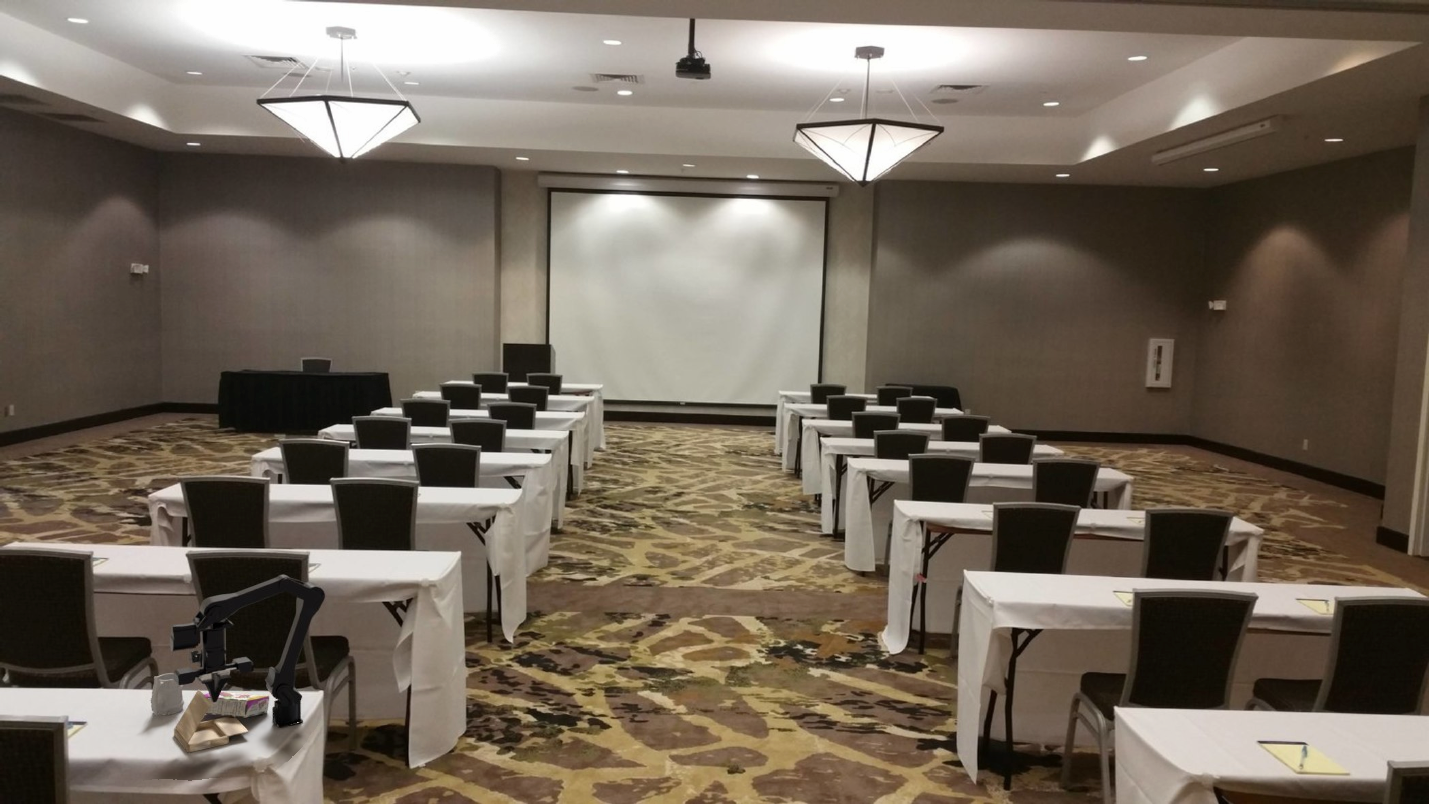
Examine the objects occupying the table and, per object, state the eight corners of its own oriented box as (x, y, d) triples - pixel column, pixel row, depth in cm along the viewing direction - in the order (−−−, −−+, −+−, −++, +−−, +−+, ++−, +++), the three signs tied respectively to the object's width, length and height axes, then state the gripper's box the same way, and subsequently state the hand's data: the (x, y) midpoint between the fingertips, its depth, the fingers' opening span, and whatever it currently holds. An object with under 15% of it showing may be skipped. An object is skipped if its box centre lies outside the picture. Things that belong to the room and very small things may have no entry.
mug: (189, 705, 299) (189, 665, 298) (166, 721, 287) (165, 679, 286) (163, 704, 299) (163, 664, 298) (139, 720, 287) (138, 678, 286)
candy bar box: (217, 690, 298) (270, 695, 296) (215, 708, 298) (267, 713, 295) (193, 694, 288) (248, 700, 285) (190, 713, 287) (245, 718, 284)
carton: (232, 722, 288) (232, 715, 288) (249, 739, 277) (249, 731, 276) (173, 735, 278) (173, 727, 278) (188, 753, 267) (188, 745, 267)
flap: (175, 728, 277) (199, 689, 280) (188, 743, 268) (212, 703, 271) (175, 727, 277) (198, 689, 280) (187, 742, 268) (211, 702, 271)
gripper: (241, 631, 288) (241, 686, 289) (167, 643, 276) (168, 700, 277) (254, 641, 280) (254, 697, 281) (178, 654, 268) (179, 713, 269)
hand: (214, 701), depth 277 cm, fingers closed
